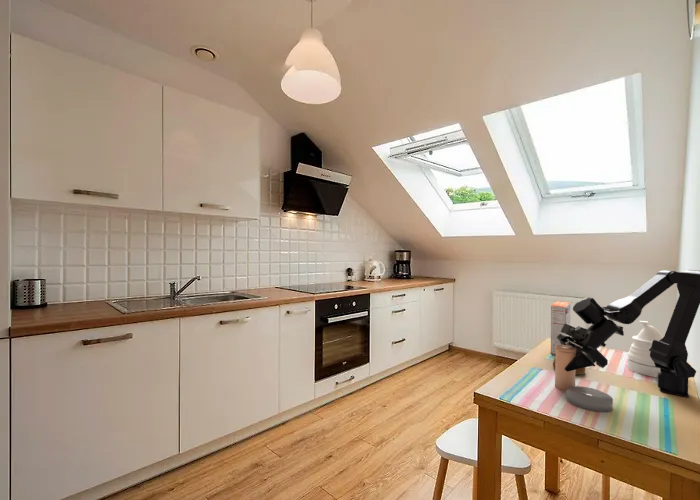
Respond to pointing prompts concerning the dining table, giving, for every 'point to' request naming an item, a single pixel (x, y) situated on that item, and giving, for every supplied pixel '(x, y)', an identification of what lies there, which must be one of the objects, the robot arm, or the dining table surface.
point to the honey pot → (643, 351)
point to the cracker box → (558, 321)
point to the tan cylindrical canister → (562, 360)
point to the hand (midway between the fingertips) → (560, 366)
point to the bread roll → (577, 371)
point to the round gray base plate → (589, 399)
